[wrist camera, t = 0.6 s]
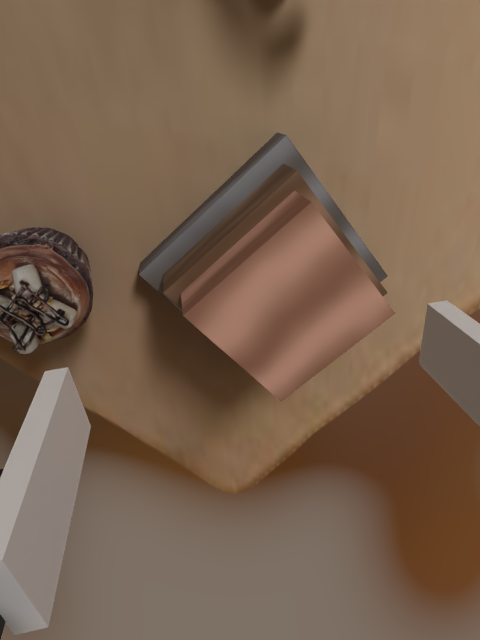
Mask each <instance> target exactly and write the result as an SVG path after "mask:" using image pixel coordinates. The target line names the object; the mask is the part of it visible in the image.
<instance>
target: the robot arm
mask: <svg viewBox="0 0 480 640" xmlns="http://www.w3.org/2000/svg"><path fill="white" fill-rule="evenodd" d="M419 364H420V365H421V366H422V368H423V369H425V371H426V372H427V373H428V374H429V375H430V376H431V377H432V378H433V379H434V380H435V381H436V382H437V383H438V384H439V385H440V386H441V387H442V388H443V389H444V390H445V391H446V392H447V393H448V394H449V395H450V396H451V397H452V398H453V400H454V401H455V402H456V403H458V405H459V406H460V407H461V408H462V409H463V410H464V411H465V412H466V413H467V414H468V415H469V416H470V417H471V418H472V419H473V420H474V421H475V422H476V423H477V424H478V425H479V426H480V324H479V323H478V322H476V321H475V320H473V319H472V318H471V317H469V316H468V315H466V314H465V313H464V312H462V311H461V310H459V309H458V308H457V307H455V306H454V305H452V304H451V303H450V302H448V301H441V302H435V303H429V304H428V305H427V312H426V318H425V325H424V331H423V338H422V345H421V351H420V358H419ZM90 427H91V426H90V423H89V420H88V418H87V415H86V413H85V410H84V407H83V405H82V402H81V400H80V397H79V394H78V392H77V389H76V387H75V384H74V381H73V379H72V376H71V374H70V371H69V368H68V367H67V368H61V369H55V370H50V371H45V372H44V375H43V377H42V380H41V382H40V384H39V387H38V389H37V391H36V394H35V396H34V399H33V401H32V404H31V406H30V408H29V411H28V413H27V415H26V418H25V420H24V422H23V425H22V427H21V430H20V432H19V434H18V437H17V439H16V441H15V444H14V446H13V449H12V451H11V453H10V456H9V458H8V460H7V463H6V465H5V468H4V469H1V470H0V639H1V635H2V632H3V628H4V624H6V625H7V627H8V628H9V629H10V630H11V631H12V633H13V634H14V635H18V634H22V633H26V632H30V631H35V630H39V629H43V628H47V627H49V622H50V618H51V613H52V608H53V603H54V599H55V593H56V589H57V584H58V580H59V575H60V570H61V565H62V561H63V556H64V551H65V546H66V542H67V537H68V532H69V528H70V523H71V518H72V513H73V509H74V504H75V499H76V494H77V489H78V485H79V480H80V475H81V471H82V466H83V461H84V456H85V452H86V447H87V442H88V437H89V433H90Z"/></svg>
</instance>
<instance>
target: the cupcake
mask: <svg viewBox="0 0 480 640" xmlns="http://www.w3.org/2000/svg"><path fill="white" fill-rule="evenodd" d="M92 300H93V289H92V279H91V271H90V265H89V261H88V258H87V256H86V254H85V253H84V252H83V250H82V249H80V248H79V247H78V244H77V243H76V242H75V241H74V240H73V239H72V238H71V237H69V236H68V235H66V234H64V233H61V232H58V231H56V230H53V229H51V228H40V227H36V228H27V229H23V230H20V231H15V232H11V233H5V234H3V235H0V336H1V337H3V338H5V339H6V340H8V341H10V342H13V343H14V344H15V346H14V347H13V351H18V352H19V353H20V354H28V353H31V352H33V351H34V350H35V349H36V348H37V347H38V345H39V344H44V343H48V342H50V341H53V340H57V339H60V338H64V337H67V336H69V335H70V334H72V333H74V332H75V331H76V330H77V329H78V328H79V327H80V326H81V325H82V324H83V323H84V322H86V320H87V318H88V316H89V314H90V312H91V309H92Z"/></svg>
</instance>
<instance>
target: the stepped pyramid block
mask: <svg viewBox="0 0 480 640" xmlns="http://www.w3.org/2000/svg"><path fill="white" fill-rule="evenodd" d="M139 275H140V276H141V277H142V278H143V279H144V280H146V281H147V282H148V283H149V284H150V285H151V286H152V287H153V288H155V289H156V290H157V291H158V292H159V293H160V294H161V295H163V296H164V297H165V298H166V299H167V300H168V301H169V302H171V303H172V304H173V305H174V306H175V307H176V308H177V309H179V310H180V311H181V312H182V313H183V316H184V317H185V318H186V319H187V320H188V321H189V322H191V323H192V324H193V325H194V326H195V327H196V328H197V329H199V330H200V331H201V332H202V333H203V334H204V335H205V336H207V337H208V338H209V339H210V340H211V341H212V342H213V343H215V344H216V345H217V346H218V347H219V348H220V349H221V350H223V351H224V352H225V353H226V354H227V355H228V356H230V357H231V358H232V359H233V360H234V361H235V362H236V363H238V364H239V365H240V366H241V367H242V368H243V369H244V370H246V371H247V372H248V373H249V374H250V375H251V376H252V377H254V378H255V379H256V380H257V381H258V382H259V383H260V384H262V385H263V386H264V387H265V388H266V389H267V390H268V391H270V392H271V393H272V394H273V395H274V396H275V397H276V398H278V399H279V400H280V401H282V400H284V399H285V398H286V397H288V396H289V395H290V394H291V393H293V392H294V391H295V390H297V389H298V388H299V387H301V386H302V385H303V384H304V383H306V382H307V381H308V380H310V379H311V378H312V377H313V376H315V375H316V374H317V373H319V372H320V371H321V370H323V369H324V368H325V367H326V366H328V365H329V364H330V363H332V362H333V361H334V360H335V359H337V358H338V357H339V356H341V355H342V354H343V353H345V352H346V351H347V350H348V349H350V348H351V347H352V346H354V345H355V344H356V343H357V342H359V341H360V340H361V339H363V338H364V337H365V336H367V335H368V334H369V333H370V332H372V331H373V330H374V329H376V328H377V327H378V326H379V325H381V324H382V323H383V322H385V321H386V320H387V319H389V318H390V317H391V316H392V315H394V314H395V312H394V311H393V309H392V308H391V307H390V306H389V304H388V303H387V302H386V300H385V299H384V298H383V296H384V295H385V294H387V291H386V290H385V289H384V287H383V286H382V285H381V283H380V282H381V281H382V280H383V279H385V278H386V277H387V275H386V273H385V272H384V270H383V269H382V268H381V266H380V265H379V263H378V262H377V261H376V259H375V258H374V256H373V255H372V254H371V252H370V251H369V249H368V248H367V247H366V245H365V244H364V243H363V241H362V240H361V238H360V237H359V236H358V234H357V233H356V231H355V230H354V229H353V227H352V226H351V224H350V223H349V222H348V220H347V219H346V217H345V216H344V215H343V213H342V212H341V211H340V209H339V208H338V206H337V205H336V204H335V202H334V201H333V199H332V198H331V197H330V195H329V194H328V192H327V191H326V190H325V188H324V187H323V185H322V184H321V183H320V181H319V180H318V179H317V177H316V176H315V174H314V173H313V172H312V170H311V169H310V167H309V166H308V165H307V163H306V162H305V160H304V159H303V158H302V156H301V155H300V153H299V152H298V151H297V149H296V148H295V147H294V145H293V144H292V142H291V141H290V140H289V138H288V137H287V135H283V134H280V133H277V134H275V135H274V136H273V137H272V138H271V139H270V140H269V141H268V142H267V143H266V144H265V145H264V146H263V147H262V148H261V149H260V150H259V151H258V152H257V153H255V154H254V155H253V156H252V157H251V158H250V159H249V160H248V161H247V162H246V163H245V164H244V165H243V166H242V167H241V168H240V169H239V170H238V171H237V172H235V173H234V174H233V175H232V176H231V177H230V178H229V179H228V180H227V181H226V182H225V183H224V184H223V185H222V186H221V187H220V188H219V189H218V190H217V191H215V192H214V193H213V194H212V195H211V196H210V197H209V198H208V199H207V200H206V201H205V202H204V203H203V204H202V205H201V206H200V207H199V208H198V209H197V210H195V211H194V212H193V213H192V214H191V215H190V216H189V217H188V218H187V219H186V220H185V221H184V222H183V223H182V224H181V225H180V226H179V227H178V228H177V229H175V230H174V231H173V232H172V233H171V234H170V235H169V236H168V237H167V238H166V239H165V240H164V241H163V242H162V243H161V244H160V245H159V246H158V247H157V248H155V249H154V250H153V251H152V252H151V253H150V254H149V255H148V256H147V257H146V258H145V259H144V260H143V261H142V262H141V263H140V269H139Z"/></svg>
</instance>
